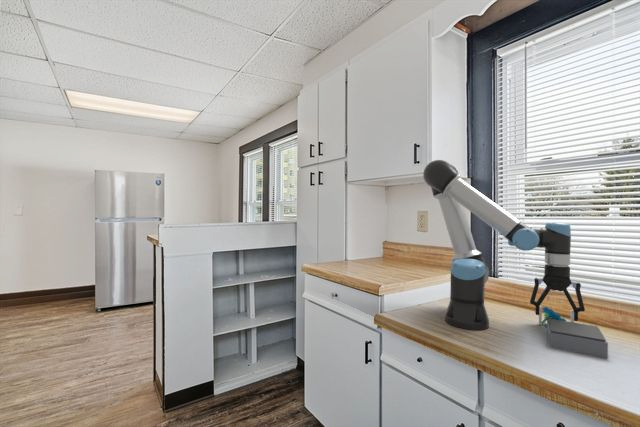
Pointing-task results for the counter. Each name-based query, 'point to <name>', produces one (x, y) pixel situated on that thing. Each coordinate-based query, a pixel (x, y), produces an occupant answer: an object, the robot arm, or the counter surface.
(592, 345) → the stand
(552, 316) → the teal branching figurine
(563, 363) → the counter surface
